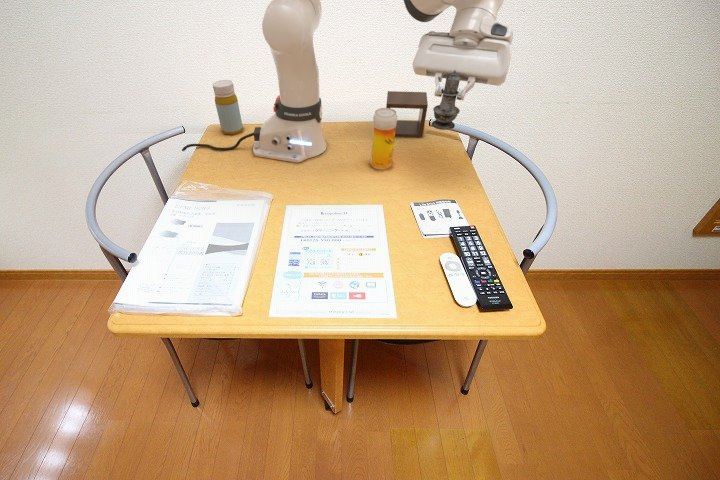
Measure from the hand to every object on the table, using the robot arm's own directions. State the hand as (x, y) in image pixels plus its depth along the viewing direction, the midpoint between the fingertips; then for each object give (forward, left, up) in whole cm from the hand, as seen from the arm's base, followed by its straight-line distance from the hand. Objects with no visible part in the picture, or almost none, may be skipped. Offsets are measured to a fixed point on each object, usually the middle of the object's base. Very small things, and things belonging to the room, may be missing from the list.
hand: (448, 97), depth 81 cm
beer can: (-13, +7, -22) cm, 27 cm away
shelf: (-7, +30, -22) cm, 38 cm away
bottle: (-63, +24, -22) cm, 71 cm away
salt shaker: (0, +1, -7) cm, 7 cm away
